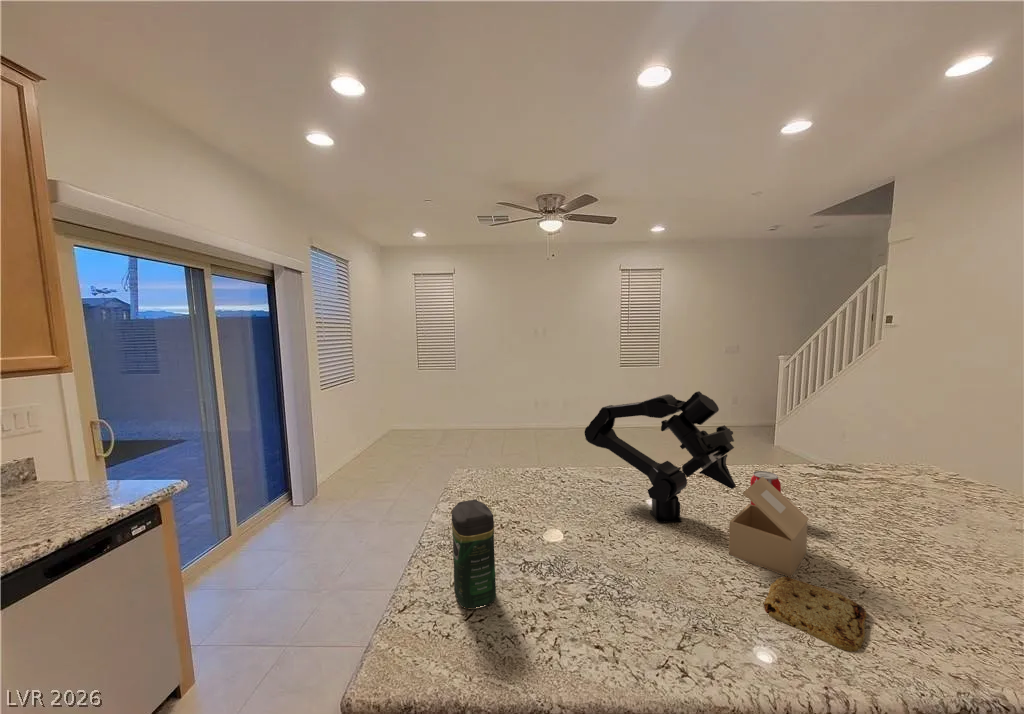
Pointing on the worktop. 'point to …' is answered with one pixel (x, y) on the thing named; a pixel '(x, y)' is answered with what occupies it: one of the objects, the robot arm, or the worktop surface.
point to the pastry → (817, 612)
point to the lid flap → (776, 507)
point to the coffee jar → (473, 554)
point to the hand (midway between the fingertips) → (733, 487)
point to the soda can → (768, 476)
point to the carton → (765, 542)
